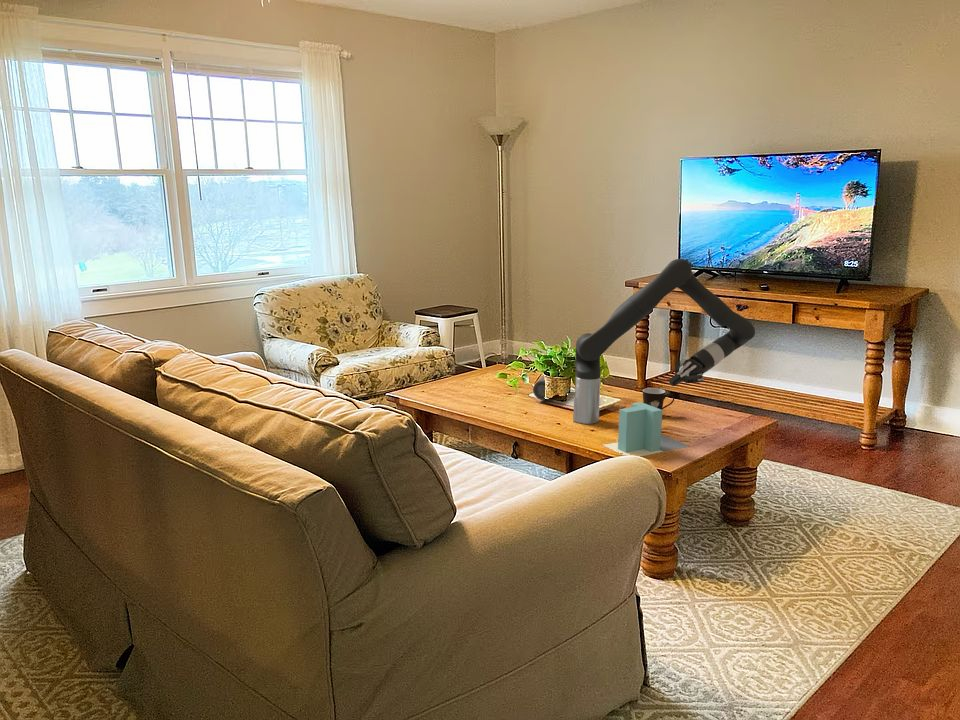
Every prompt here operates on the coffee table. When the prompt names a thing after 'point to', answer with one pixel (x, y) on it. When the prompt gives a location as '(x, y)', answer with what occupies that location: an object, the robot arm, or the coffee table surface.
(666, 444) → the felt mat
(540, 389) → the bluetooth speaker
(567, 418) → the coffee table surface
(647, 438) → the tee block
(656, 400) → the coffee mug
